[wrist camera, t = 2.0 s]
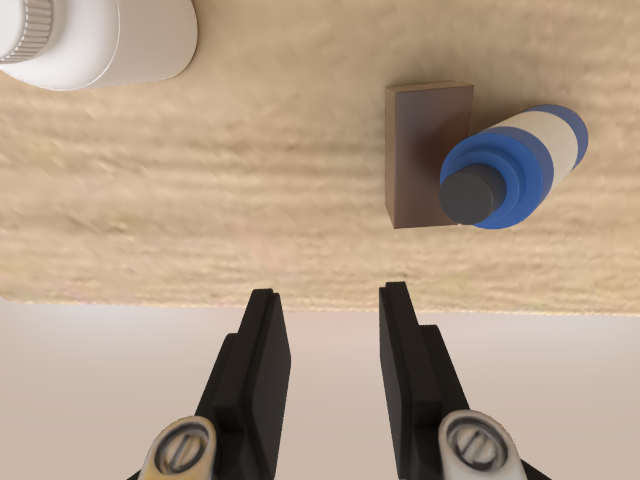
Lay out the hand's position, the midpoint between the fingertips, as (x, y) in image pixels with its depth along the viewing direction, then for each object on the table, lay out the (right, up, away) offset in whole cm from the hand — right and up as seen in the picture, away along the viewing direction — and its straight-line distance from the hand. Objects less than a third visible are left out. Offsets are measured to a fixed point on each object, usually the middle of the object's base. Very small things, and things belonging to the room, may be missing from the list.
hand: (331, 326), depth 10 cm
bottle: (+13, +11, +18) cm, 24 cm away
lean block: (+8, +10, +18) cm, 22 cm away
